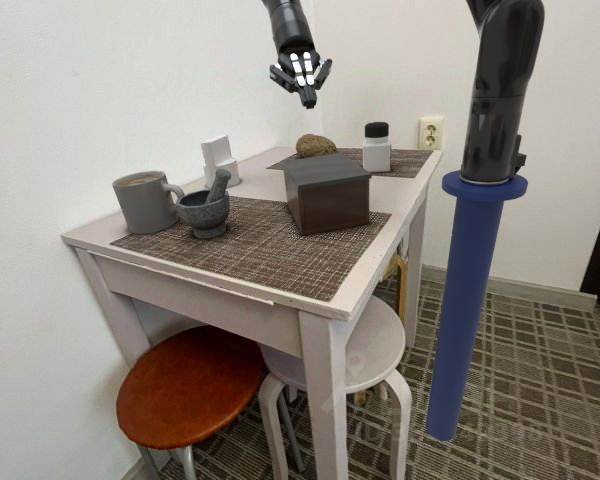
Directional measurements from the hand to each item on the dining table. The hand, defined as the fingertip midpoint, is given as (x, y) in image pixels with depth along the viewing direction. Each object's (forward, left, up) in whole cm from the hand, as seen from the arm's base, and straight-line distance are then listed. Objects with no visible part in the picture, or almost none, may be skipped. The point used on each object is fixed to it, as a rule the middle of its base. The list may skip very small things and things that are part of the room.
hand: (310, 105), depth 61 cm
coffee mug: (+34, 0, -20) cm, 39 cm away
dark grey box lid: (-1, +5, -11) cm, 12 cm away
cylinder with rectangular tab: (+23, -24, -20) cm, 39 cm away
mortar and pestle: (+21, +7, -20) cm, 30 cm away
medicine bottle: (-19, -21, -20) cm, 35 cm away
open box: (-1, +5, -20) cm, 20 cm away
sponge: (-5, -41, -20) cm, 46 cm away
